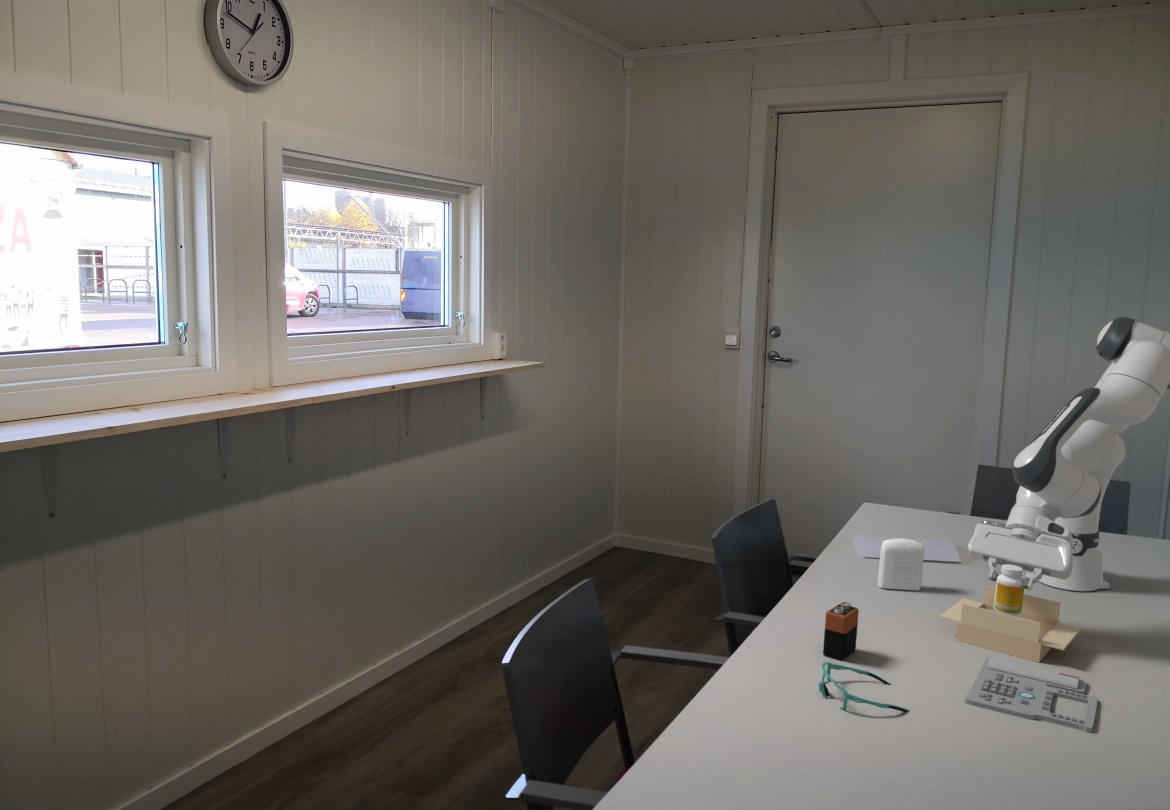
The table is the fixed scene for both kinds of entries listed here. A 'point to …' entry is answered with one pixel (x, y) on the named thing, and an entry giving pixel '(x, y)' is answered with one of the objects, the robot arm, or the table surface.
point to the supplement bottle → (1009, 590)
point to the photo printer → (901, 564)
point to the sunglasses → (846, 694)
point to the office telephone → (1029, 692)
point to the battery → (840, 631)
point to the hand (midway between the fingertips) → (1009, 583)
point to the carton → (1012, 626)
